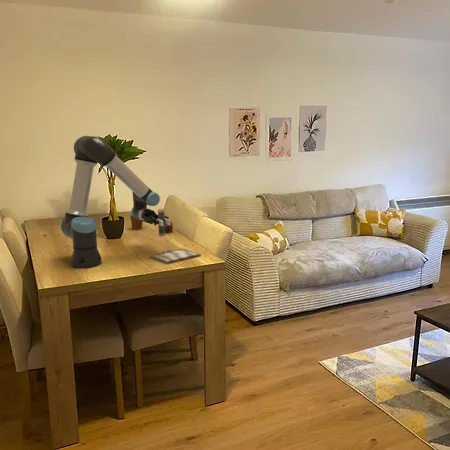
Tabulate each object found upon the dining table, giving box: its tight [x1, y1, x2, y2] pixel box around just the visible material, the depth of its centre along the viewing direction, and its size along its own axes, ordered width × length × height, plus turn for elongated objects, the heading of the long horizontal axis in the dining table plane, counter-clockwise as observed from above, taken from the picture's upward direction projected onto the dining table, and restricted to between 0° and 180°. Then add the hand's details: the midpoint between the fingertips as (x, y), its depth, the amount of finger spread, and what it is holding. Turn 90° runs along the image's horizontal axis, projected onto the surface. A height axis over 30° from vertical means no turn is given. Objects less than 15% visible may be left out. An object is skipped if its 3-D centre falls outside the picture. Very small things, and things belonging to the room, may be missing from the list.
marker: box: [157, 208, 166, 237], centre depth 246 cm, size 3×3×14 cm
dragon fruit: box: [165, 221, 174, 233], centre depth 308 cm, size 8×8×12 cm
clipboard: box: [149, 248, 202, 265], centre depth 251 cm, size 22×16×2 cm
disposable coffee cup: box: [129, 210, 143, 231], centre depth 315 cm, size 10×10×12 cm
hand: (166, 223), depth 241 cm, fingers closed on marker, 3 cm apart
